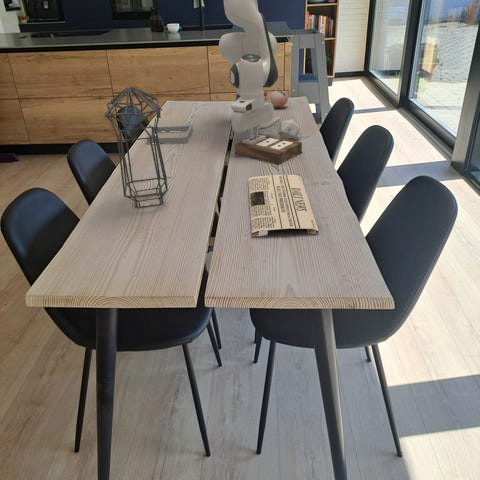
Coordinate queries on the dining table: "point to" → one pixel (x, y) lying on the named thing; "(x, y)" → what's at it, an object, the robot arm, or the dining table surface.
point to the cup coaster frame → (173, 139)
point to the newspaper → (279, 204)
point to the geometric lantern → (155, 138)
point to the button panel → (268, 151)
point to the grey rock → (288, 130)
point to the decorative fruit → (278, 98)
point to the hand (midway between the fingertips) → (253, 138)
